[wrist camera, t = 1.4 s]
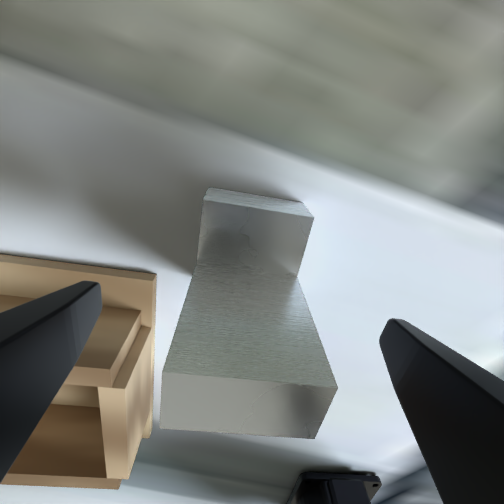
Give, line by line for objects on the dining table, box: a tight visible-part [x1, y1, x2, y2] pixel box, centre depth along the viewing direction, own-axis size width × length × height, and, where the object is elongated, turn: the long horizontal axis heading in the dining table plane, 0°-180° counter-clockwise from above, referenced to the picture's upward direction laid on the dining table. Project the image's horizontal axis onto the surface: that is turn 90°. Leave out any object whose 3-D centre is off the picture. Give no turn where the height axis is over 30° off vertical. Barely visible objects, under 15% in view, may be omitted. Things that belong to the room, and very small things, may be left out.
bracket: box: [160, 187, 338, 439], centre depth 9 cm, size 4×4×7 cm
